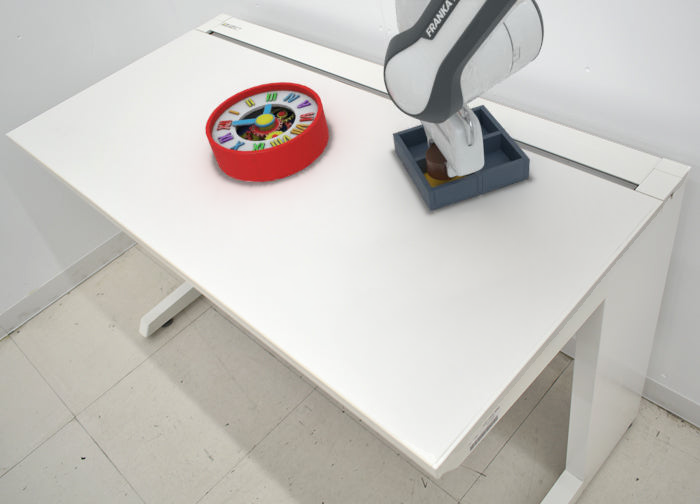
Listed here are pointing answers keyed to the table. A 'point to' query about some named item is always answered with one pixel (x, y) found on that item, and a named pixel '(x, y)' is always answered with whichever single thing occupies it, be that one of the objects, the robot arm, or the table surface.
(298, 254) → the table surface
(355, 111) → the table surface
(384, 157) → the table surface
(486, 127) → the grid
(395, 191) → the table surface
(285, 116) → the toy clock
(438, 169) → the cylinder
